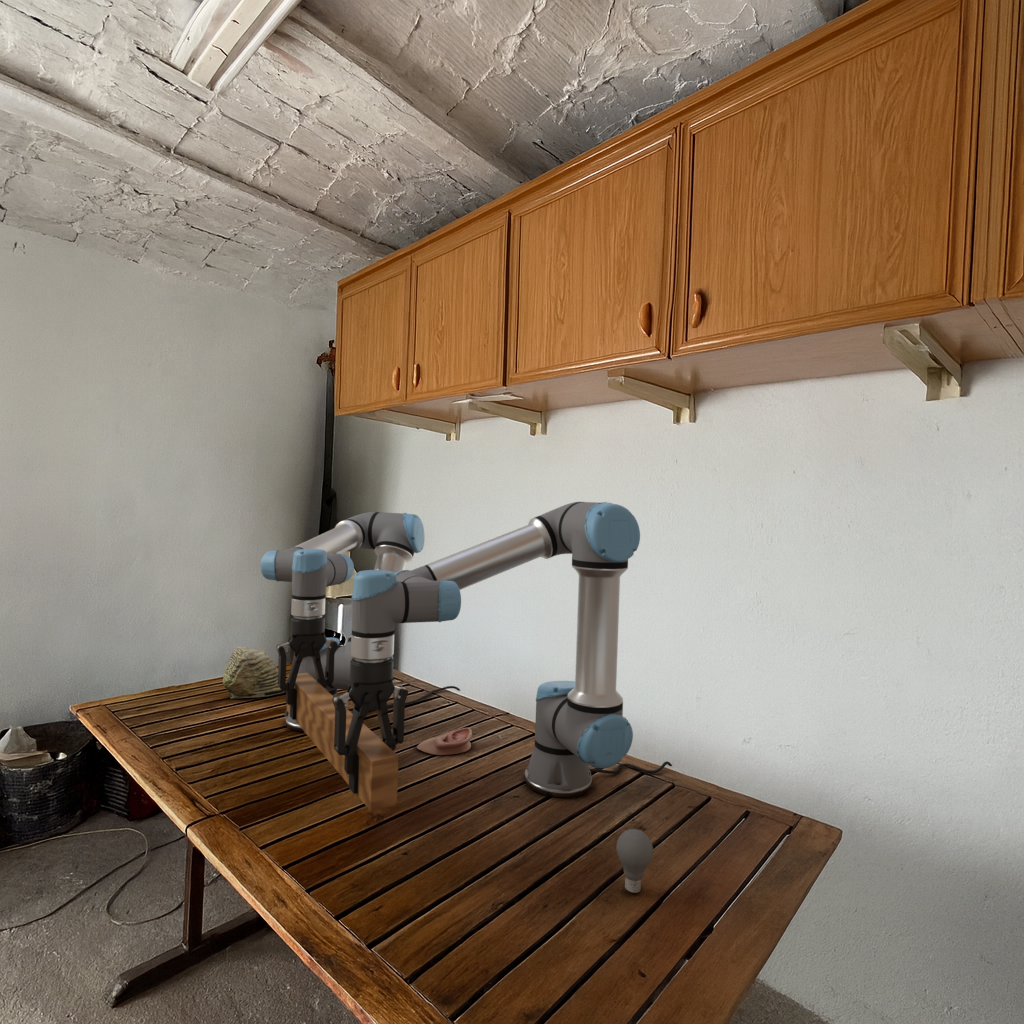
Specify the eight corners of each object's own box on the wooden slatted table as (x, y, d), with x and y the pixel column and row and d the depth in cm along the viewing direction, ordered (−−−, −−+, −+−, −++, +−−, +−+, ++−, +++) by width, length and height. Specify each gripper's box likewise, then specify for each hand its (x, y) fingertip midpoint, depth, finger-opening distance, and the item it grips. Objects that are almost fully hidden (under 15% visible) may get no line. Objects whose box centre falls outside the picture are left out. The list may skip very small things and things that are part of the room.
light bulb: (610, 879, 108) (613, 822, 108) (644, 879, 109) (647, 822, 109) (619, 902, 102) (622, 840, 102) (655, 901, 103) (658, 840, 103)
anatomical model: (412, 736, 159) (428, 721, 170) (412, 752, 159) (427, 735, 170) (464, 742, 156) (476, 726, 167) (463, 758, 156) (475, 741, 167)
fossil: (218, 695, 195) (220, 647, 195) (278, 685, 208) (279, 640, 207) (228, 703, 189) (230, 653, 188) (289, 692, 201) (290, 645, 201)
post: (286, 710, 152) (287, 675, 152) (306, 707, 155) (307, 672, 154) (370, 811, 106) (372, 761, 105) (397, 805, 108) (398, 755, 108)
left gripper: (271, 622, 139) (268, 727, 139) (351, 616, 148) (348, 715, 149) (264, 615, 145) (261, 716, 146) (341, 610, 154) (338, 705, 155)
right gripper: (329, 668, 105) (324, 807, 105) (426, 657, 114) (422, 784, 115) (315, 658, 111) (312, 789, 112) (409, 647, 121) (405, 768, 121)
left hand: (305, 715), depth 147 cm, fingers closed on post, 5 cm apart
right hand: (368, 786), depth 113 cm, fingers closed on post, 5 cm apart
